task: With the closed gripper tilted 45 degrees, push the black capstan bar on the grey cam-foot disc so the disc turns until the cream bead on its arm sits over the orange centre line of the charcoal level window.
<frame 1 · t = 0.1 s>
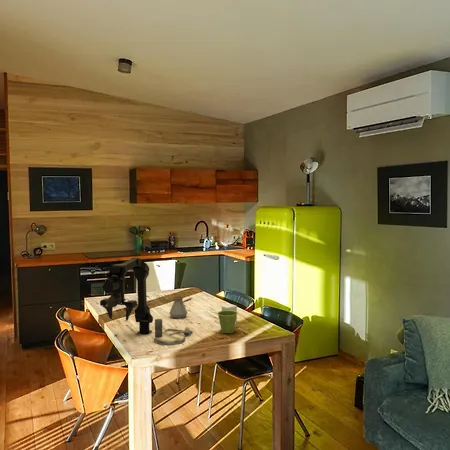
hand: (118, 319, 238), 15 cm above the table, tool pointing down, fingers open, 9 cm apart
plant pot: (227, 332, 267), on the table
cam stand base: (169, 340, 252), on the table
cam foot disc: (173, 327, 254), point 6 cm above the table, hinge at -30.0°
coffee pot: (182, 318, 297), on the table
small box: (229, 322, 288), on the table
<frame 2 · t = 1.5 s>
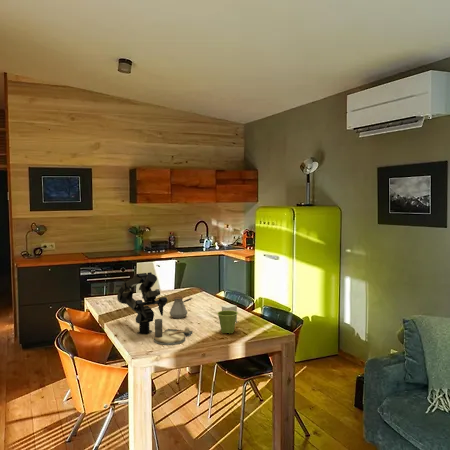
hand: (154, 316, 253), 12 cm above the table, tool tilted 45°, fingers open, 9 cm apart
nothing on the table moved.
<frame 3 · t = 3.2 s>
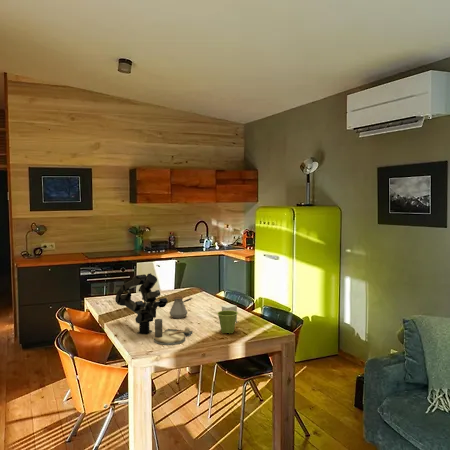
hand: (155, 317, 253), 12 cm above the table, tool tilted 45°, fingers closed
nothing on the table moved.
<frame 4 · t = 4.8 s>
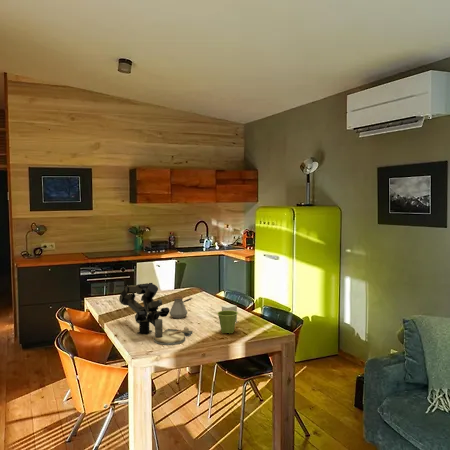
hand: (156, 327, 252), 7 cm above the table, tool tilted 45°, fingers closed, pressing on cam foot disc
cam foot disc: (173, 327, 254), point 6 cm above the table, hinge at -26.6°, touching gripper
everything else where it was.
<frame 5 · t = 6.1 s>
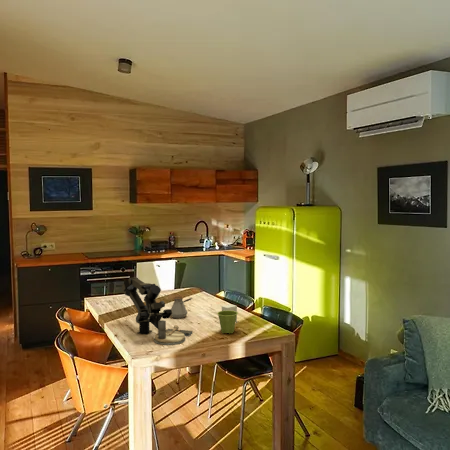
hand: (158, 329, 248), 7 cm above the table, tool tilted 45°, fingers closed, pressing on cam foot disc
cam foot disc: (171, 327, 255), point 6 cm above the table, hinge at 6.6°, touching gripper
everything else where it was.
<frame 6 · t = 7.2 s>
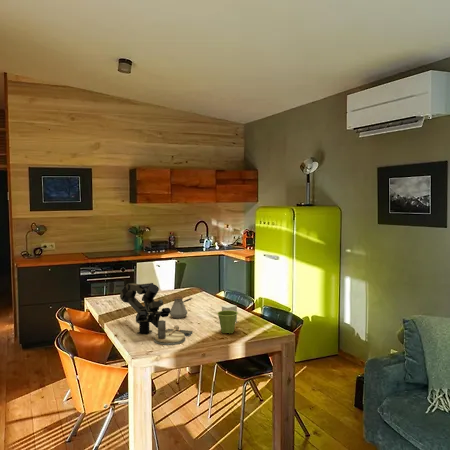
hand: (157, 327, 251), 7 cm above the table, tool tilted 45°, fingers closed
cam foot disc: (171, 327, 255), point 6 cm above the table, hinge at 5.0°
everything else where it was.
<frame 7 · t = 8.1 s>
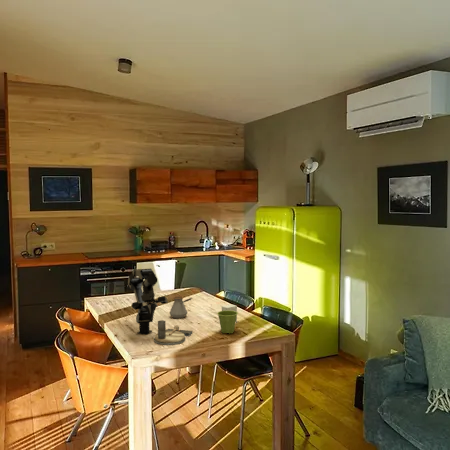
hand: (151, 318, 251), 12 cm above the table, tool tilted 30°, fingers closed
nothing on the table moved.
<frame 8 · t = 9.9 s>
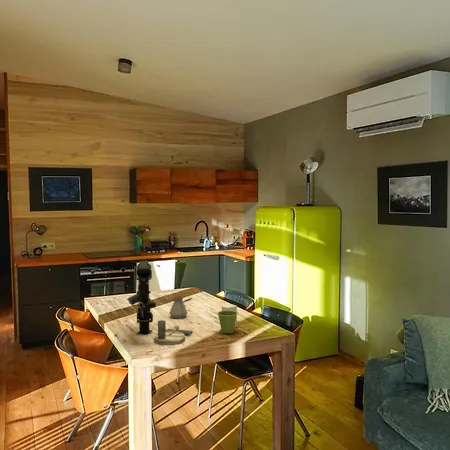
hand: (144, 317, 252), 12 cm above the table, tool pointing down, fingers closed
nothing on the table moved.
at the end: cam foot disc at +5° (first picture: -30°) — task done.
